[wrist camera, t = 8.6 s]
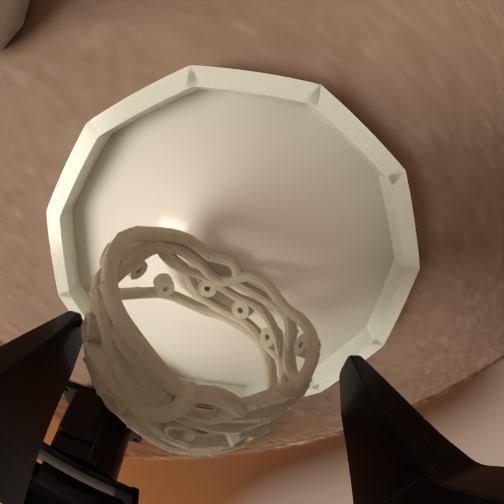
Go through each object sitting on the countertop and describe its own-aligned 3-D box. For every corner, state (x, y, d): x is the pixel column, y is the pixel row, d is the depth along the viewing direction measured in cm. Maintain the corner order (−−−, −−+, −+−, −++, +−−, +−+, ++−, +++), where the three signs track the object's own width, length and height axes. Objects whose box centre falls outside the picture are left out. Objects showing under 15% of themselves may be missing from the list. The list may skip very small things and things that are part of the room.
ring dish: (338, 393, 18) (342, 413, 16) (90, 355, 17) (80, 373, 16) (438, 130, 11) (460, 134, 9) (73, 74, 10) (51, 72, 8)
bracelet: (267, 335, 15) (279, 480, 8) (121, 270, 13) (40, 400, 6) (311, 276, 14) (362, 425, 6) (149, 197, 12) (38, 306, 5)
